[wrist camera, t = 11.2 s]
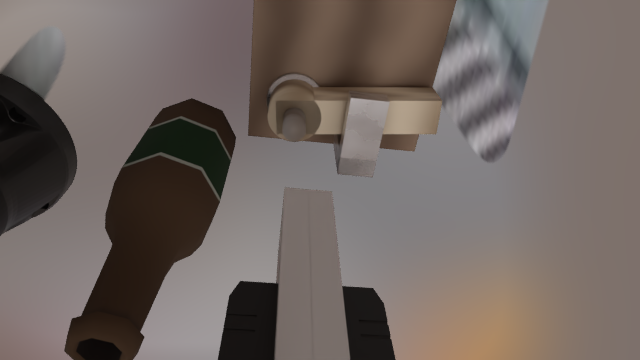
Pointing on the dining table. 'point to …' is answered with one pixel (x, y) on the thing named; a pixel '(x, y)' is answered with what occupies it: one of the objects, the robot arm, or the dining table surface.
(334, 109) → the link
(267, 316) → the robot arm
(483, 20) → the dining table surface
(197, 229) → the beer bottle
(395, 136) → the base plate
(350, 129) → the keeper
